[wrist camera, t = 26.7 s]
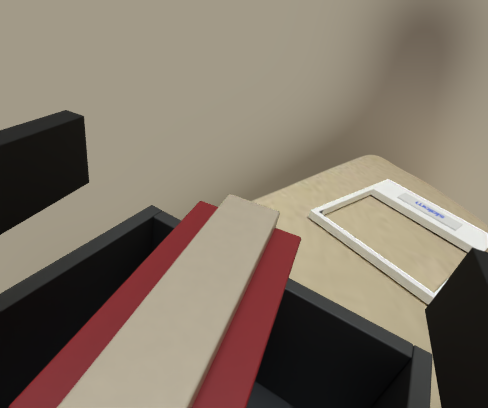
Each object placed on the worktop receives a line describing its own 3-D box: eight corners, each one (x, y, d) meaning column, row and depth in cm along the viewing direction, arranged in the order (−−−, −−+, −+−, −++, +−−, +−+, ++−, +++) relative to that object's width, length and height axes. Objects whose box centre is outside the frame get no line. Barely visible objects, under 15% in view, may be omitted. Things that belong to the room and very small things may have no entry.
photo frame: (497, 236, 39) (439, 299, 28) (491, 243, 40) (432, 308, 29) (388, 177, 48) (310, 208, 36) (385, 184, 48) (307, 216, 37)
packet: (68, 571, 12) (-14, 401, 5) (177, 372, 19) (204, 184, 12) (161, 630, 12) (210, 524, 5) (240, 402, 19) (307, 220, 12)
